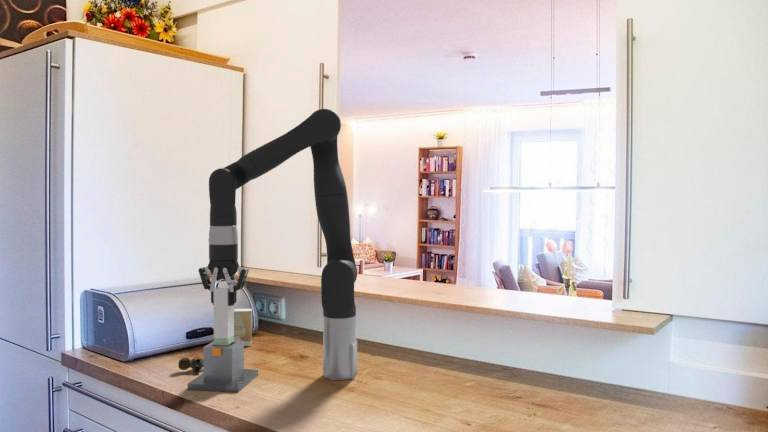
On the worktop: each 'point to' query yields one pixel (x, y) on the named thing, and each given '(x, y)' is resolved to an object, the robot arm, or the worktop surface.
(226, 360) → the stand base
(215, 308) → the column
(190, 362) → the regulator
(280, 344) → the worktop surface
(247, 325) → the skincare box
